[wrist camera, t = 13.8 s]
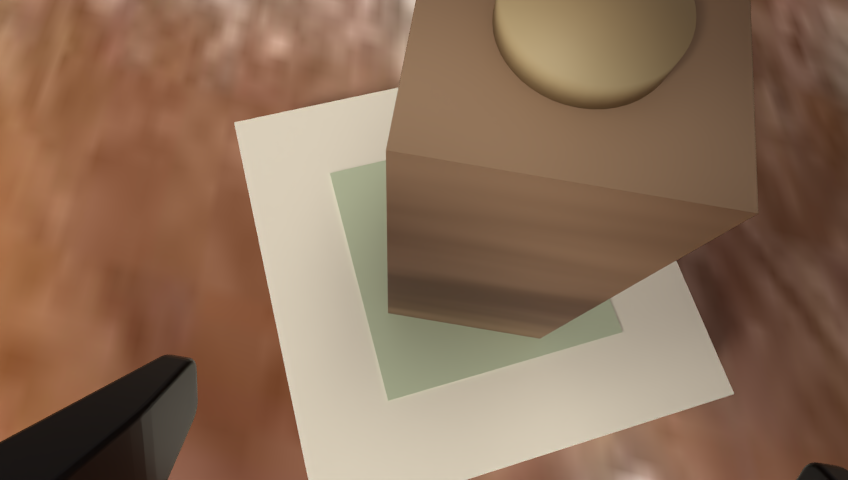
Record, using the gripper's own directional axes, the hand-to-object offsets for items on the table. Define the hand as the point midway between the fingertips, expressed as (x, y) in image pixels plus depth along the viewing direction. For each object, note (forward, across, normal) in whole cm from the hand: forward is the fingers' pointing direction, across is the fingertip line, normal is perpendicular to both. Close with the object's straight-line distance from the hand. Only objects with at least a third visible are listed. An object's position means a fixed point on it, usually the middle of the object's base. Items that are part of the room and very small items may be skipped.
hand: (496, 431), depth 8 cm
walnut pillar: (+9, 0, +2) cm, 9 cm away
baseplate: (+11, 0, +3) cm, 11 cm away
